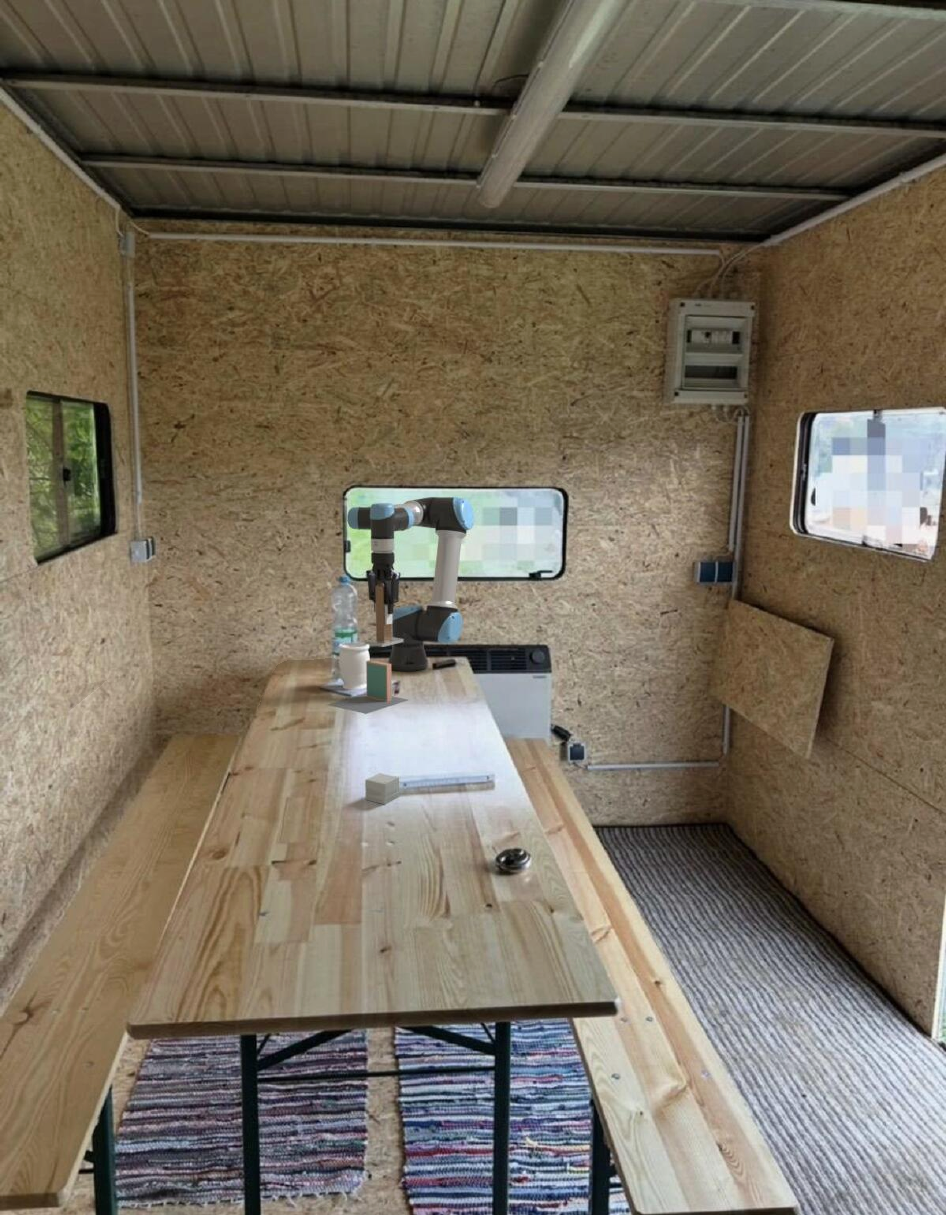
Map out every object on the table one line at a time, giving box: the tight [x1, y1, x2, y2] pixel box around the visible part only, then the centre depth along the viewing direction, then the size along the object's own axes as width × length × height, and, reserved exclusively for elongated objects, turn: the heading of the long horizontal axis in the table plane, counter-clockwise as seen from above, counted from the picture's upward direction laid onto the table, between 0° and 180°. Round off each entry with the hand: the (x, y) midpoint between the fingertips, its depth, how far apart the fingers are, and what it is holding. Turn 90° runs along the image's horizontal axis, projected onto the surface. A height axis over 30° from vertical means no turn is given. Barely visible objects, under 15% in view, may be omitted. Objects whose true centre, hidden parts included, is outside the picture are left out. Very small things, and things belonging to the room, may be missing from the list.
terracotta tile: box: [366, 659, 393, 702], centre depth 279 cm, size 2×9×12 cm, turn 54°
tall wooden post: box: [364, 584, 404, 648], centre depth 283 cm, size 10×8×19 cm
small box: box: [364, 772, 400, 805], centre depth 197 cm, size 6×6×5 cm
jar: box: [338, 641, 371, 691], centre depth 295 cm, size 11×10×15 cm
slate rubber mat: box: [326, 692, 409, 715], centre depth 276 cm, size 20×17×1 cm
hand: (384, 622), depth 283 cm, fingers closed on tall wooden post, 3 cm apart
